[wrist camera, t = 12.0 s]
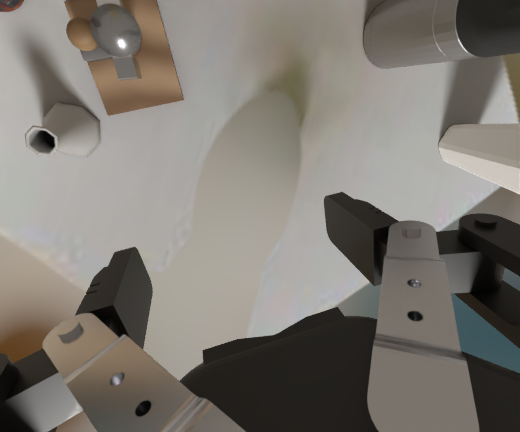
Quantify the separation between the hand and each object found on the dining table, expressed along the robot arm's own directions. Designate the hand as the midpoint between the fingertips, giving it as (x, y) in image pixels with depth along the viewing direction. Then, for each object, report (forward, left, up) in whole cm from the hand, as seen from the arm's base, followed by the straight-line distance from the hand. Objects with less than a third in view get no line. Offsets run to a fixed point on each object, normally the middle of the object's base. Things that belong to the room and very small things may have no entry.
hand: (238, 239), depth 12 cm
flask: (+17, -4, -36) cm, 40 cm away
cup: (-46, +12, -36) cm, 60 cm away
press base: (+6, -11, -36) cm, 38 cm away
